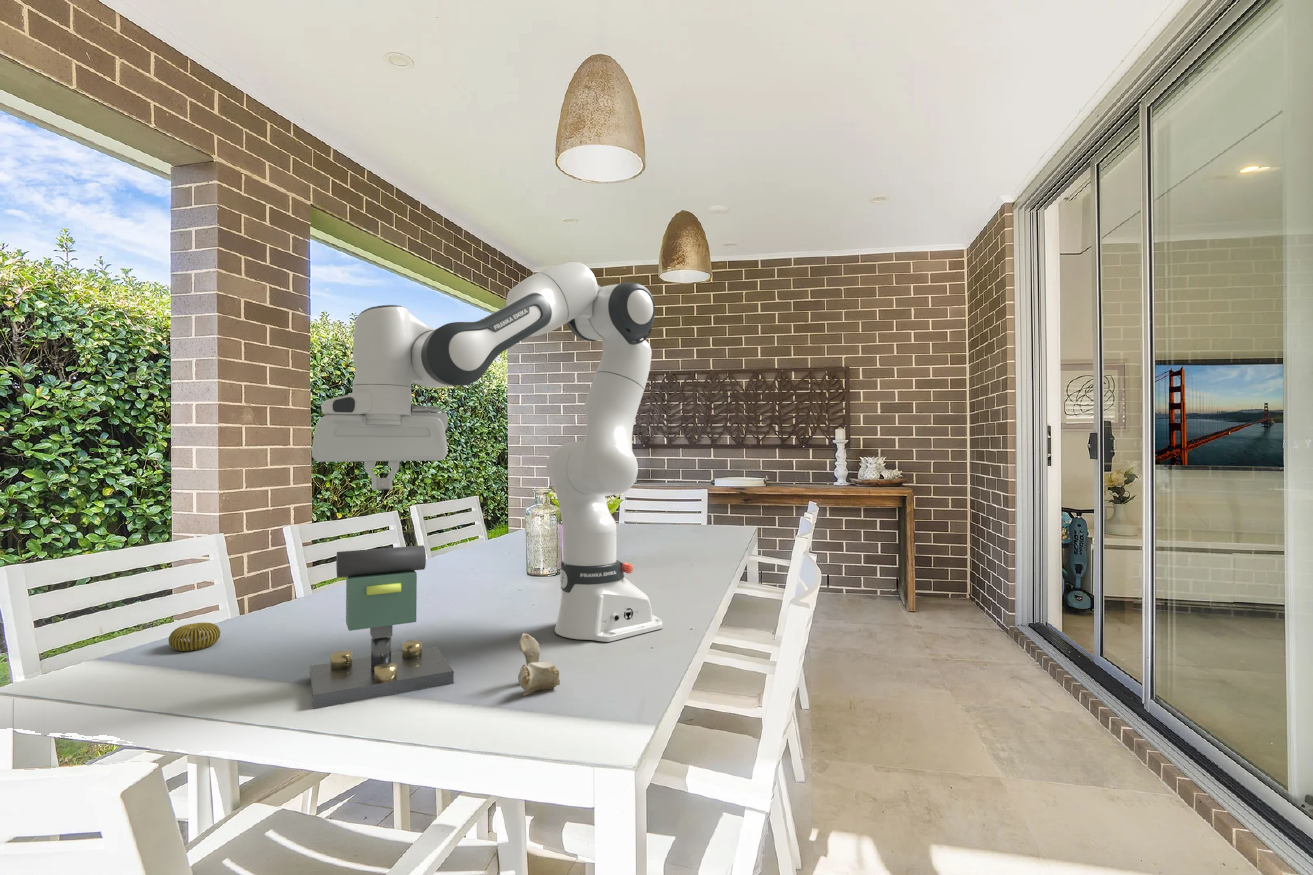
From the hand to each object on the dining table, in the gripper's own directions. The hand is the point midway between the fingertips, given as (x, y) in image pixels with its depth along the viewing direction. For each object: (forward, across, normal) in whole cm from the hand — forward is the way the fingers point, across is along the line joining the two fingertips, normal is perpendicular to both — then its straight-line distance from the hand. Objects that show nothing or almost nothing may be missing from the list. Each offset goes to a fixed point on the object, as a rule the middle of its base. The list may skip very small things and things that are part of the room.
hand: (381, 489), depth 105 cm
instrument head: (+24, 0, 0) cm, 24 cm away
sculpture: (+32, +28, -36) cm, 56 cm away
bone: (+31, -21, +16) cm, 41 cm away
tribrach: (+31, 0, 0) cm, 31 cm away
